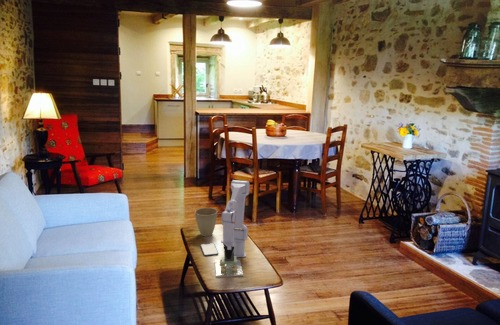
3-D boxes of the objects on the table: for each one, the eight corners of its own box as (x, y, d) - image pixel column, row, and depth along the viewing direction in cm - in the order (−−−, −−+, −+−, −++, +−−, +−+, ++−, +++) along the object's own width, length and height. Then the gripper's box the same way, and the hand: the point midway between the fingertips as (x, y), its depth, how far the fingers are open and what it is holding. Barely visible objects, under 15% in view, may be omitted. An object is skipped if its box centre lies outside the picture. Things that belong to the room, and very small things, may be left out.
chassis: (215, 262, 234) (214, 254, 233) (239, 261, 236) (239, 253, 235) (216, 277, 216) (216, 269, 216) (243, 276, 218) (243, 268, 217)
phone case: (219, 256, 244) (214, 245, 259) (218, 253, 243) (214, 242, 258) (203, 257, 241) (199, 246, 257) (203, 255, 241) (199, 244, 256)
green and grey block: (221, 257, 230) (221, 248, 229) (235, 256, 231) (235, 247, 230) (222, 266, 219) (222, 256, 218) (237, 265, 220) (237, 255, 219)
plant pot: (193, 231, 280) (193, 208, 277) (215, 229, 284) (215, 207, 281) (196, 239, 266) (196, 215, 263) (219, 237, 270) (219, 214, 267)
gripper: (220, 228, 228) (220, 251, 231) (221, 238, 214) (221, 263, 217) (233, 228, 229) (233, 251, 232) (235, 238, 215) (235, 262, 218)
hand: (228, 257), depth 225 cm, fingers closed on green and grey block, 4 cm apart
